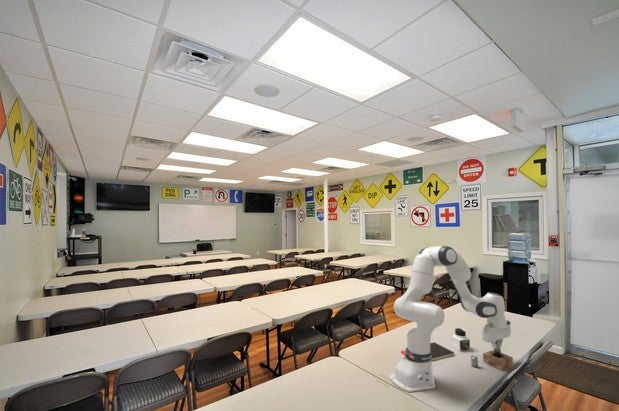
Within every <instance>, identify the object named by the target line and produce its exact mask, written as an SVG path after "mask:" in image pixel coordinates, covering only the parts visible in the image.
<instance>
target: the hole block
mask: <svg viewBox="0 0 619 411" xmlns="http://www.w3.org/2000/svg"><path fill="white" fill-rule="evenodd" d="M482 355H483V356H482V358H483V360H482V361H483V364H487V365H489V366H491V367H493V368H495V369H497V370H499V371H501V372H503V371H506V370H509V369H511V368H514V360H513V359H514V358H513V356H510V355H507V354H505V353H503V352H501V358H498V357H496V356H494V349H492V350H489V351H487V352H483V353H482Z"/></svg>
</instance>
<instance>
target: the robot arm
mask: <svg viewBox="0 0 619 411" xmlns="http://www.w3.org/2000/svg"><path fill="white" fill-rule="evenodd" d="M435 267H444V268H445V269H446V271H447V274H448V275H449V277H450V278H451V281H452V284H453V285H454V288H455V290H456V292H457V294H458V296H459V301H460V305H461V307H462V309H463V310H464V311H465V312H468V313H471V314H473V315H475V316H477V317H479V318H483V319H486V324H485V325H484V327H483V329H482V334H481V335H482V340H483V341H484V342H487V343H490V344H491V347H492V348H493V349H494V348H497V345H496V344H495V342H496V341H497V340H500V346H501V348H502V347H503V342H504V339H506V338H510V337H511V334H512V330H511V325H512V324H511V323H512V321H511V320H509V319H506V316H505V312H506V306H505V300H504V297H503V296H502V295H500V294H498V293H494V292H490V291H489V292H487V293H486V294H485V295H484V296H482V297H477V296H475V295H473V294H472V293H471V292H470V290H469V288H468V286H467V283H466V282H468V281H469V280H470V278H471V277H472V272H471V269H470V268H469V265H468V264H467V262H466V261H465V259H464V258H463V256H462V255H461V254H460V253H459V251H457V250H456V249H454V248H453V247H451V246H448V245H440V246H439V245H438V246H437V245H436V246H429V247H424V248H422V249H421V250H420V251H419V253H418V254H417V255H416V256H414V260H413V264H412V267H411V273H410V280H409V285H408V287H407V290H406V291H405V292H404V293H403V294H402V295H401V296H400V297H398V298H397V299H395V301H394V303H393V311H394V313H395V316H397V317H399V318H402V319H403V320H407V321H410V322H414V323H416V324H417V325H416V327H413V328H411V329H409V331H408V332H407V334H406V343H407V347H406V348H407V349H406V348H405V350H404V349H401V350H400V353H401V354H402V355H403V356H404V357H403V358H402V359H401V360H400V361H399V362H398V363H397V364H396V365H395V367H394V373H392V374H390V375H389V380H390V381H391V382H392V383H393V384H394V385H395V386H396V387H398V388H400V389H401V390H403V391H405V392H407V393H411V392H417V391H425V390H426V391H427V390H430V389H431V390H432V389H436V384H435V382H436V381H435V377H434V372H433V365H432V361H431V359H432V355H431V350H430V343H431V339H432V338H431V337H432V333H433V332H434V331H435V329H437V328H439V327H440V326H442V325H443V323H444V322H445V312H444V310H443V308H442V307H441V306H440V305H437V304H435V303H432V302H427V301H424V300H423V301H422V300H421V298H422V297H423V296H424V295H427V294H430V293H431V292H432V290H433V285H434V283H433V282H434V274H435V272H434V271H435Z"/></svg>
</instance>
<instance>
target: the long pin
mask: <svg viewBox="0 0 619 411" xmlns="http://www.w3.org/2000/svg"><path fill="white" fill-rule="evenodd" d="M495 344H496V345H497V348H493V350H494V356H496V357H498V358H501V353H502V351H501V348H502V347H501V346H500V340H497V341H496V342H495Z"/></svg>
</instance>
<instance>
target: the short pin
mask: <svg viewBox="0 0 619 411" xmlns="http://www.w3.org/2000/svg"><path fill="white" fill-rule="evenodd" d="M470 359H471V360H470V363H471V365H470V366H471V367H472V368H474V369H478V368H479V358H478V356H476V355H471V356H470Z"/></svg>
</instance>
